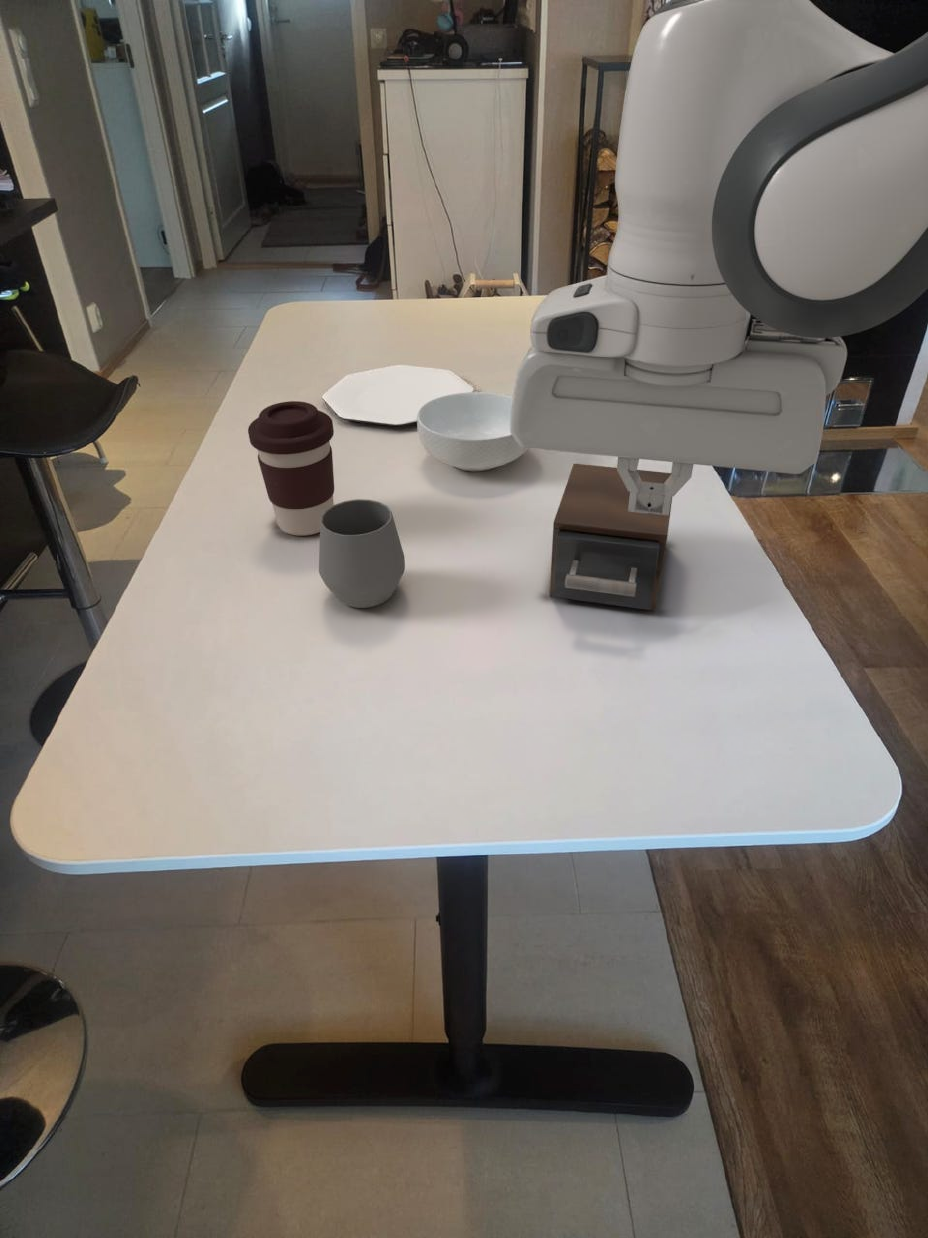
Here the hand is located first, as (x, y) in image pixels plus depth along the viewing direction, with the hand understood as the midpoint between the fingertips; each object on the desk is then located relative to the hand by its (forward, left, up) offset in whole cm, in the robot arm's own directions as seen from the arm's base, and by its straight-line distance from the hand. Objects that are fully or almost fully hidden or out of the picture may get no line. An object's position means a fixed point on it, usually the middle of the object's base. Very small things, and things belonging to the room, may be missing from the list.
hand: (648, 510), depth 58 cm
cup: (+30, -15, -23) cm, 41 cm away
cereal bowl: (+26, -50, -23) cm, 61 cm away
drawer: (+4, -22, -22) cm, 32 cm away
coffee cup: (+43, -28, -23) cm, 56 cm away
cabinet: (+4, -26, -23) cm, 35 cm away
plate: (+44, -68, -23) cm, 84 cm away
